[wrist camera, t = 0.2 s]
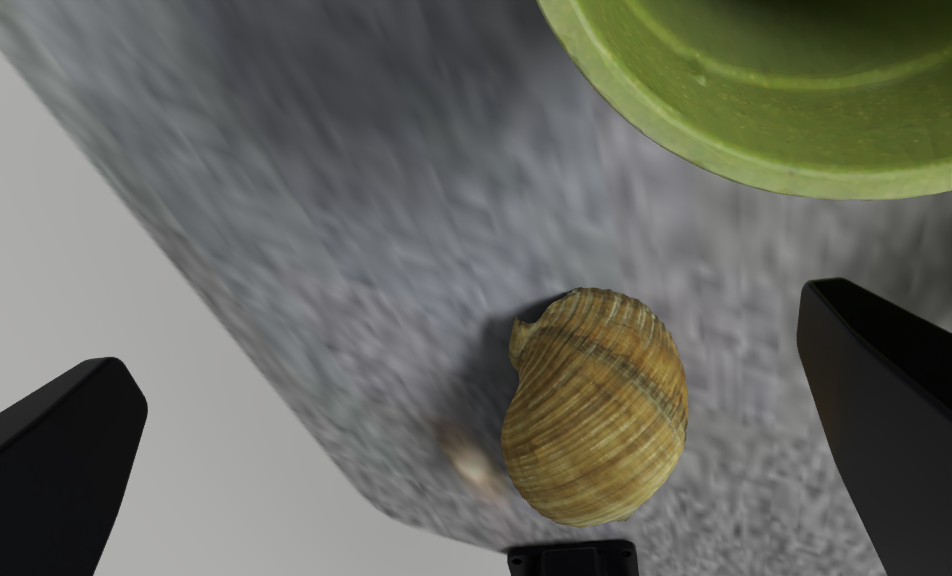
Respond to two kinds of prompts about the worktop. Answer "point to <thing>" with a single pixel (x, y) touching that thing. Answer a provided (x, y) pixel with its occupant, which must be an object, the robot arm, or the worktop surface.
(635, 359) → the seashell
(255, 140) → the worktop surface
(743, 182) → the plant pot
